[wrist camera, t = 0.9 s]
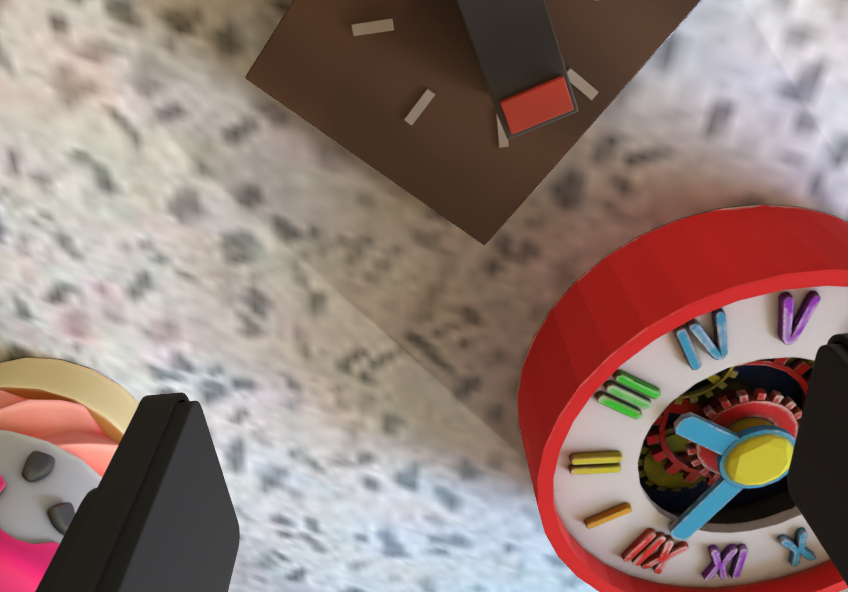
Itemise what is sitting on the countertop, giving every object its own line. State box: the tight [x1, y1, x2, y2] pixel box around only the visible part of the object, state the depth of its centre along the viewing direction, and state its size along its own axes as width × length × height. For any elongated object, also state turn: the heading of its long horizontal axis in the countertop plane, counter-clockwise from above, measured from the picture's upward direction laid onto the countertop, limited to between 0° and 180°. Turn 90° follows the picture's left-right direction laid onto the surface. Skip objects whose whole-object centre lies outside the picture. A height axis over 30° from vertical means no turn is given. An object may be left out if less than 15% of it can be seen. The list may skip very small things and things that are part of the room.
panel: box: [245, 0, 702, 245], centre depth 25 cm, size 14×11×3 cm
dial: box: [454, 0, 578, 139], centre depth 21 cm, size 5×2×5 cm, turn 23°
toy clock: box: [517, 205, 848, 592], centre depth 33 cm, size 20×6×20 cm
